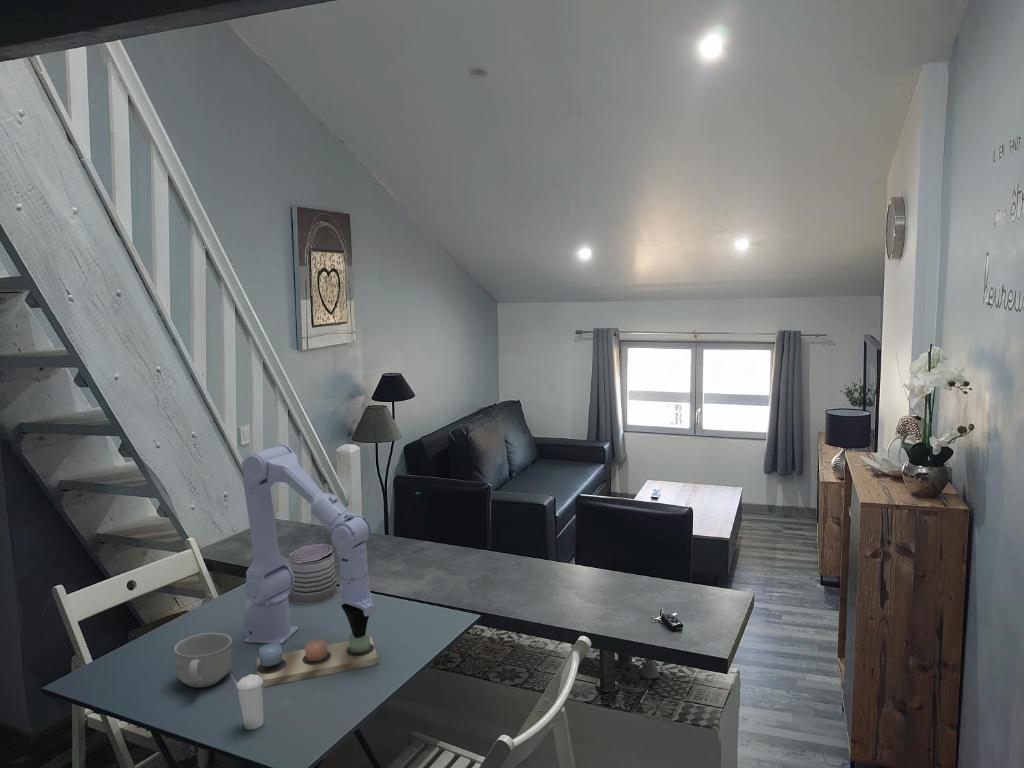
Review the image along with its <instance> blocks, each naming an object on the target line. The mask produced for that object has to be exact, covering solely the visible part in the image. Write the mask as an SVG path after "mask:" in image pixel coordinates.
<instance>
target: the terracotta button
mask: <svg viewBox="0 0 1024 768" xmlns="http://www.w3.org/2000/svg"><path fill="white" fill-rule="evenodd" d="M327 645H328V644H327V639H326V640H325V639H324V638H315V639H311V640H308V641H307V642H306V643H305V644H304V649H305V654H306V659H307V660H308V661H319V660H322V659H324V658H326V657H327V655H328V654H327Z"/></svg>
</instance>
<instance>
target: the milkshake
mask: <svg viewBox="0 0 1024 768" xmlns="http://www.w3.org/2000/svg"><path fill="white" fill-rule="evenodd" d="M230 677H231V678H232V680H233V681H234V683H235V684H236V691H237V695H238V700H239V704H240V709H241V713H242V719H243V726H244V728H245V729H246V730H249V731H252V730H253V731H254V730H257V729H259V728H261V727H262V726H263V725H264V687H263V679H262V678H261V677H260V676H259V675H256V674H252V673H251V674H248V675H247V676H244V677H242V678H240V679H239V681H238V682H237V680H236V679H235V677H234V675H233V674H230Z"/></svg>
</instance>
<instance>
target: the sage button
mask: <svg viewBox="0 0 1024 768" xmlns="http://www.w3.org/2000/svg"><path fill="white" fill-rule="evenodd" d="M370 637H371V633H370V631H369V632H368V631H366V633H365V636H363V637H359V638H355V637H354V636H353V633H352V632H351V633H350V634H349V636H348V641H349V647H350V651H351V652H353V653H362V652H365V651H367V650H369V649H370V647H371V644H370Z"/></svg>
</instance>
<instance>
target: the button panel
mask: <svg viewBox="0 0 1024 768" xmlns="http://www.w3.org/2000/svg"><path fill="white" fill-rule="evenodd" d="M370 644H371V647H370V649H369V650H367V651H365V652H362V653H353V652H351V651H350V647H349V640H347V641H341V642H338V643H336V642H335V643H331V644H327V654H328V655H327V657H326V658H324V659H322V660H319V661H308V660H307V659H306V654H305V648H303V649H299V650H294V651H288V652H282V661H281V662H279V663H278V664H275V665H272V666H263V665H261V664H260V657H257V658H256V669H255V670H256V671H255V673H256V674H255V675H259V676H260V677H261V678H262V679H263V688H265V687H271V686H275V685H281V684H285V683H291V682H297V681H302V680H306V679H310V678H316V677H323V676H327V675H332V674H336V673H340V672H341V673H342V672H346V671H347V672H348V671H352V670H357V669H363V668H368V667H371V666H373V667H374V666H378V665H379V657H378V653H377V651H376V648H375V643H374V641H373V637H372V636H370Z"/></svg>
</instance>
